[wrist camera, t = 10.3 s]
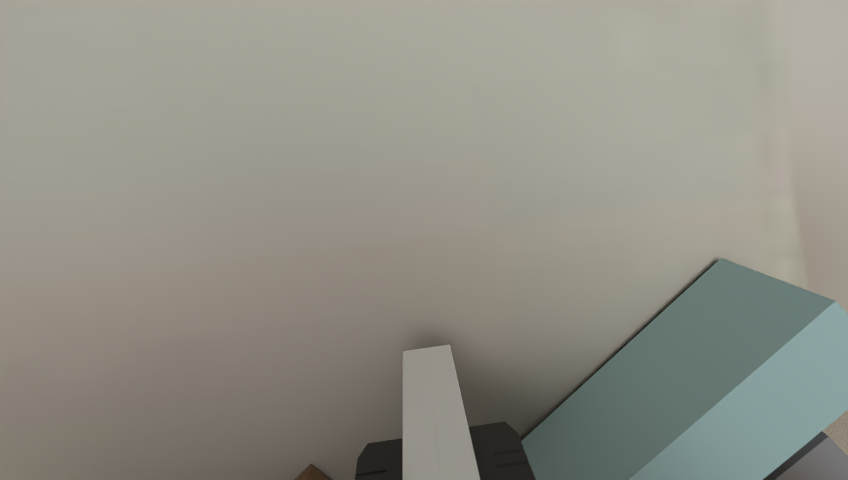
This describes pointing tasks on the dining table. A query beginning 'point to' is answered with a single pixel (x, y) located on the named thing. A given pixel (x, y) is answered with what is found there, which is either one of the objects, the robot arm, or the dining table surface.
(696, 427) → the teal block
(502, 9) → the dining table surface
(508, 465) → the robot arm
